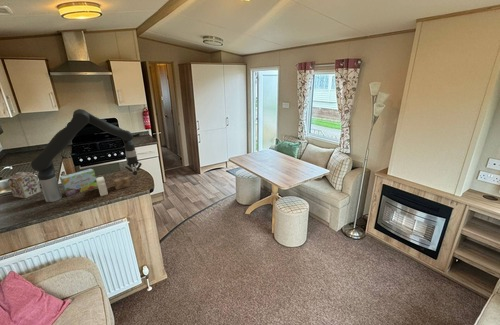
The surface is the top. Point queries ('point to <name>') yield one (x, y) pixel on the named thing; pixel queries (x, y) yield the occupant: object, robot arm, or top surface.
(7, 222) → the top surface
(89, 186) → the snack box
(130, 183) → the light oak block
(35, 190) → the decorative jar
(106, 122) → the robot arm
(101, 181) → the cream rectangular block
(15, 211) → the top surface
